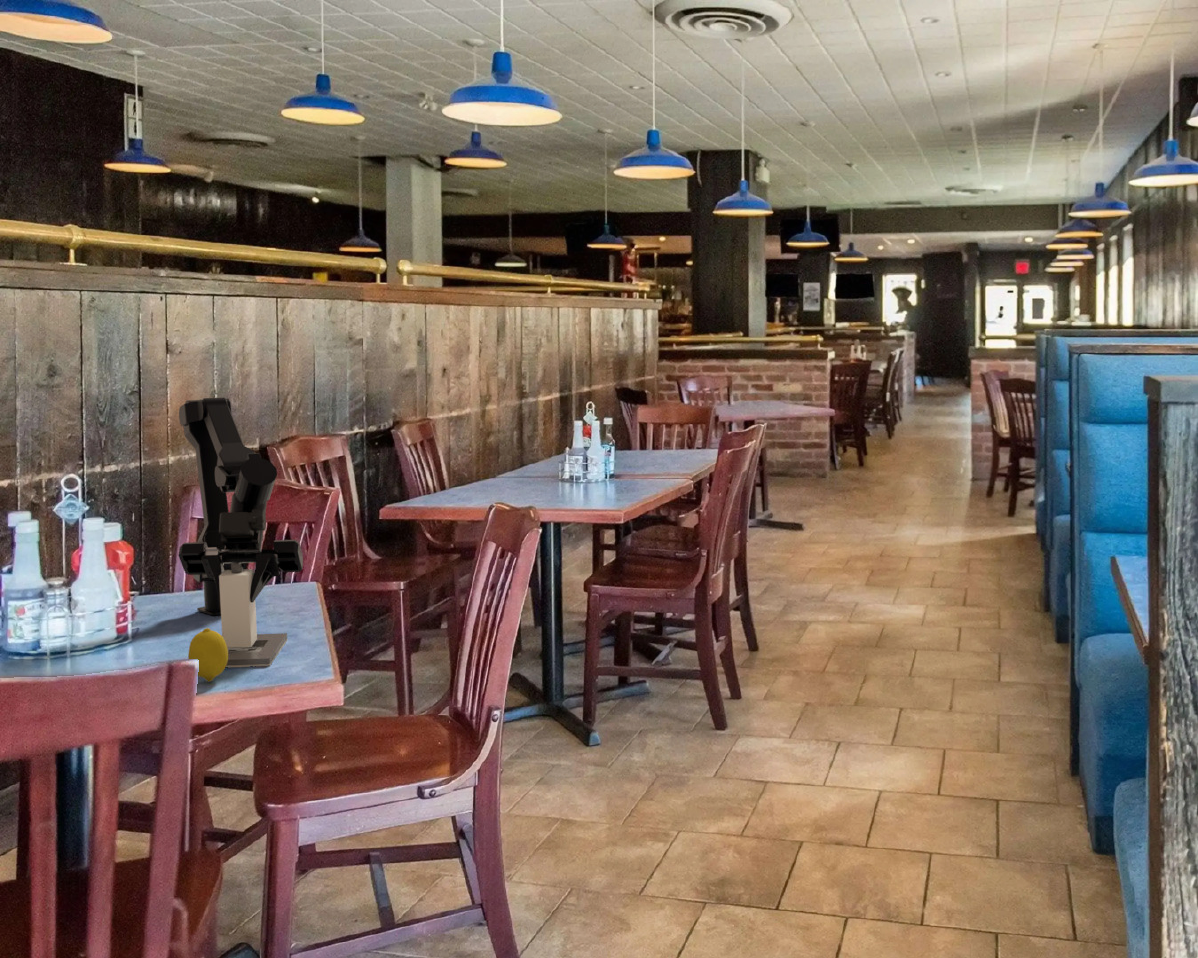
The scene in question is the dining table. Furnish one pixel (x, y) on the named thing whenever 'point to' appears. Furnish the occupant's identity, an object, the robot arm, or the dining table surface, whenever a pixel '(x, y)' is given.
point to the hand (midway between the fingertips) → (236, 601)
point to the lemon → (209, 653)
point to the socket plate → (257, 651)
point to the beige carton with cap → (237, 607)
